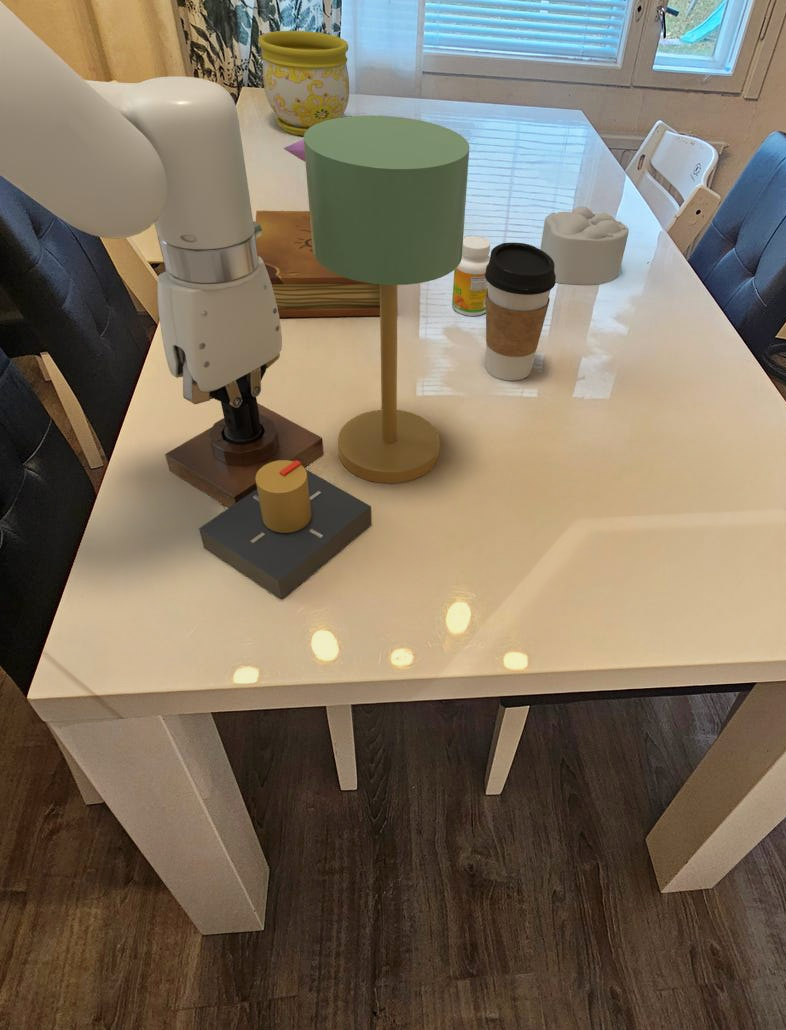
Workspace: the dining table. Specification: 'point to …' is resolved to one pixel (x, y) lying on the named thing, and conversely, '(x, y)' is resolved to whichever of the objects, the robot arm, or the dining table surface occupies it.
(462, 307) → the supplement bottle
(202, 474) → the switch block
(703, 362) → the dining table surface
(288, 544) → the dimmer panel
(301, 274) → the diary
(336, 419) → the dining table surface
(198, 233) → the robot arm
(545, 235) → the lumpy-topped squat cylinder
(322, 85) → the flowerpot
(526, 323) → the coffee cup
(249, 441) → the power button
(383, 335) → the lamp
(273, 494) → the dimmer knob
